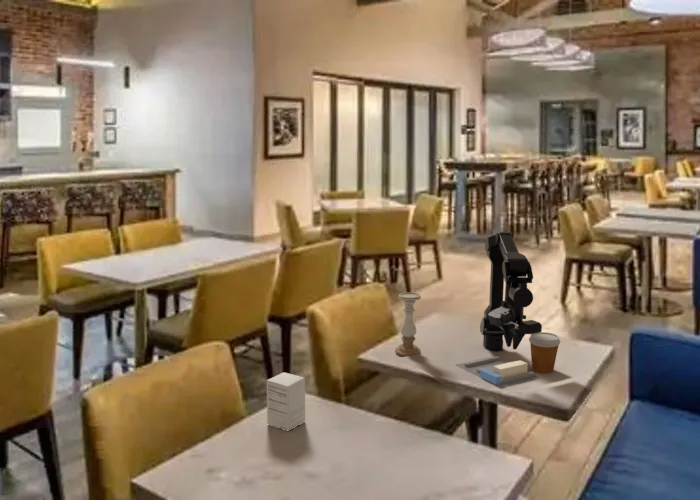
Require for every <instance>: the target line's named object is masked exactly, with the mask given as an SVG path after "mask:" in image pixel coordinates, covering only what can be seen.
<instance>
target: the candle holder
mask: <svg viewBox="0 0 700 500" xmlns="http://www.w3.org/2000/svg"><path fill="white" fill-rule="evenodd" d="M421 297H422V296H421V294H420V293H416V292H407V291H406V292H401V293H399V294H398V296H397V298H398V299H399V300H401V301H402V302H403V304H404V308H403V312H404V320H403V322H402V324H401V327H400V333H401V335H402V336H401V337H400V338H401V341H402V344H400V345H398V346H397V347H395V349H394V353H395V354H396V355H397V356H400V357H410V356H416V355H421V353H422V350H421V348H419V346H417V345H416V344H414V342H415V340H416V337H415V335H416V334H417V331H418V330H417V326H416V325H415V322H414V312H415V308H414V304H415V303H416V301H418V300H421Z"/></svg>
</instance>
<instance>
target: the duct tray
mask: <svg viewBox="0 0 700 500" xmlns="http://www.w3.org/2000/svg"><path fill="white" fill-rule="evenodd" d="M510 362H511V361H507V362H506V361H504V360H501V356H498V355H497V356H490V357H486V358H480V359H476V360H470V361H467V362H466V361H465V362H461V363H457V364H455V366H456V367H458V368H459V369H463V370H464V371H466V372H469V373H470V374H472V375H474V376H477V377H478V378H480V379H482V380H484V381H486V382H488V383H491V384H493V385H495V386H496V387H499V388H501V389H503V388H506V387H511V386H515V385H519V384H522V383H526V382H531V381H535V380H540V379H541V377H540V376H537V375H536V372H535V371H529V372H528V371H527V373H524V374H520V375H515V376H511V377H507V378H502V379H501V376H500V375H498V374H496V373H493V366H496V365H501V364H505V363H510Z"/></svg>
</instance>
